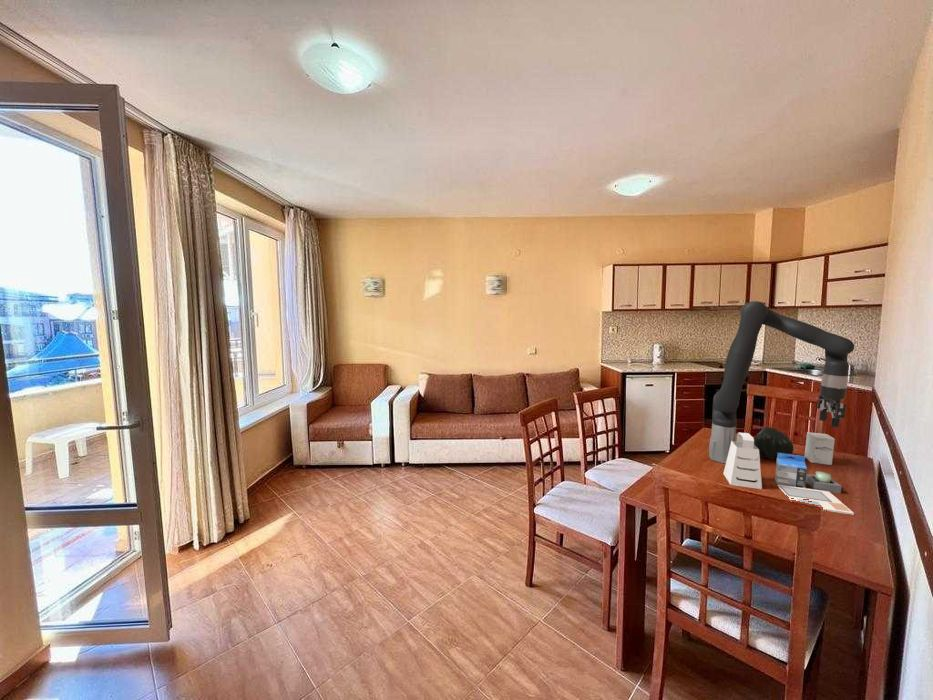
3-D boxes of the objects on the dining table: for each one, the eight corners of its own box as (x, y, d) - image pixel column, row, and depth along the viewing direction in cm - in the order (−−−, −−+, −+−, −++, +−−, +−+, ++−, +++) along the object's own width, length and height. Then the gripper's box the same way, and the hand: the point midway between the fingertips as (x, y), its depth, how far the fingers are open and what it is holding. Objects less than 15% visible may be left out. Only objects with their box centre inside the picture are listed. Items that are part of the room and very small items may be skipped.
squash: (805, 454, 163) (790, 423, 172) (768, 454, 166) (755, 423, 174) (787, 464, 175) (774, 435, 183) (753, 464, 177) (741, 434, 186)
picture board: (796, 506, 132) (796, 504, 132) (777, 485, 147) (777, 484, 147) (854, 514, 126) (854, 513, 126) (828, 492, 141) (828, 491, 141)
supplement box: (811, 463, 167) (814, 436, 166) (803, 456, 174) (806, 431, 172) (832, 465, 164) (835, 438, 163) (823, 459, 171) (826, 433, 170)
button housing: (814, 489, 143) (814, 482, 143) (804, 480, 151) (805, 473, 150) (840, 493, 140) (841, 486, 140) (829, 484, 148) (829, 477, 147)
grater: (752, 477, 154) (756, 432, 152) (762, 489, 144) (766, 441, 142) (723, 473, 158) (726, 429, 156) (730, 484, 148) (734, 437, 146)
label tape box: (777, 484, 148) (779, 455, 147) (774, 480, 152) (777, 452, 150) (805, 489, 144) (808, 459, 142) (802, 485, 147) (805, 456, 146)
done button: (818, 484, 144) (819, 475, 144) (812, 480, 148) (813, 470, 148) (832, 486, 142) (833, 477, 142) (826, 481, 147) (827, 472, 146)
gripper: (812, 381, 156) (807, 417, 158) (832, 388, 143) (826, 428, 145) (835, 382, 153) (829, 419, 156) (857, 390, 140) (851, 430, 142)
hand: (828, 423), depth 150 cm, fingers open, 8 cm apart
